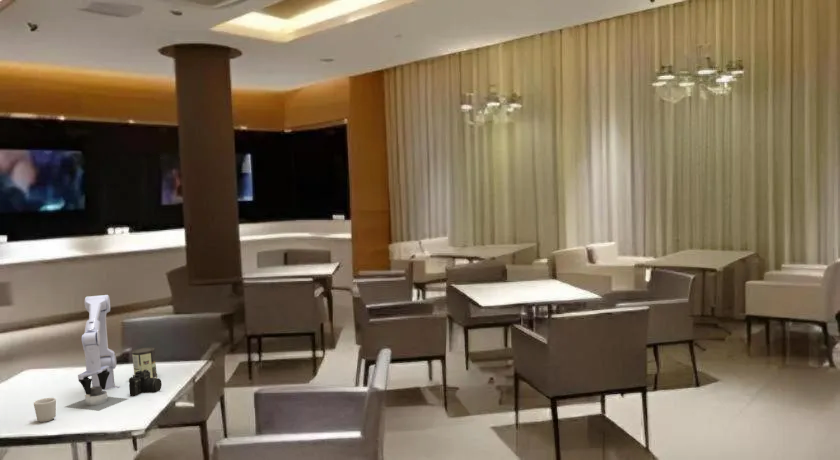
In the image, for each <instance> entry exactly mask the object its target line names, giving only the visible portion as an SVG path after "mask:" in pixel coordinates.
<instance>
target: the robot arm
mask: <svg viewBox="0 0 840 460" xmlns="http://www.w3.org/2000/svg"><path fill="white" fill-rule="evenodd" d="M84 308H85V310H86V312H88V313H89V315H88V319H87V320H86V321H85V326H84V333H83V334H82V335H81V343H82V344H81V345H82V350H83V352H84V361H85V371H84V372H82V373H80V374H77V378H78V379H77V380H78V382H79V383H80V384H81V386H82V388H83V390H84V393H85V395H86V394H88V395H90V394H91V388H92V387H96V386H101V387H102V391H107V390H111V389H113V388H115V389H119V388H120V386H119V385H117V386H116V385H115V374H114V370H115V369H116V368H117V357H116V353H115V351H114V350H113V349H110V348H109V340H108V330H107V329H108V327H107V314H108V313H109V312H111V298H110V295H108V294H104V295H92V296H91V295H90V296H89V295H87V296H86V297H85V298H84ZM90 377H91V378H90Z"/></svg>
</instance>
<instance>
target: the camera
mask: <svg viewBox="0 0 840 460" xmlns="http://www.w3.org/2000/svg"><path fill="white" fill-rule="evenodd" d="M128 384H129V385H128V387H129V397H137V396H139V395H141V394H145V393H157V392H160V391H161V389H162V380H161V379H160V378H158V377H157V378H150V372H149V371H148V370H143V371H137V372H136V373H135V375H134V374H132V376H131V377H129V378H128Z"/></svg>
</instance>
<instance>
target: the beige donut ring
mask: <svg viewBox="0 0 840 460" xmlns="http://www.w3.org/2000/svg"><path fill="white" fill-rule="evenodd" d="M107 397H108V392H107V390H102V393H101V394H99V395H88V394H86V393H85V395H84V399H85V401H86V405H87V406H97V405H101V404H104V403H106V402H107V401H108V400H107Z"/></svg>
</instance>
